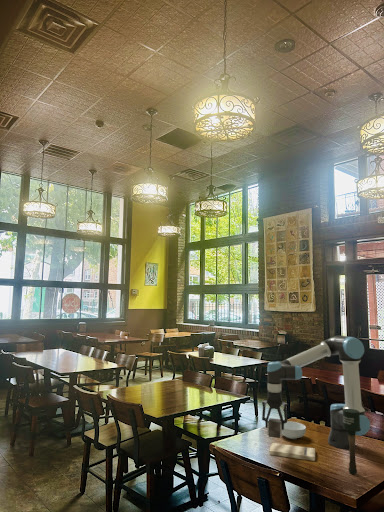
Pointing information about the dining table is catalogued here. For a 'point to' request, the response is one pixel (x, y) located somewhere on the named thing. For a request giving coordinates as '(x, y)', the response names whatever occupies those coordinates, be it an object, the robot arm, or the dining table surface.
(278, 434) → the marking gauge
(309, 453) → the maple board
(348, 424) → the stick grenade
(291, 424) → the cereal bowl
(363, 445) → the dining table surface
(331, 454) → the dining table surface
